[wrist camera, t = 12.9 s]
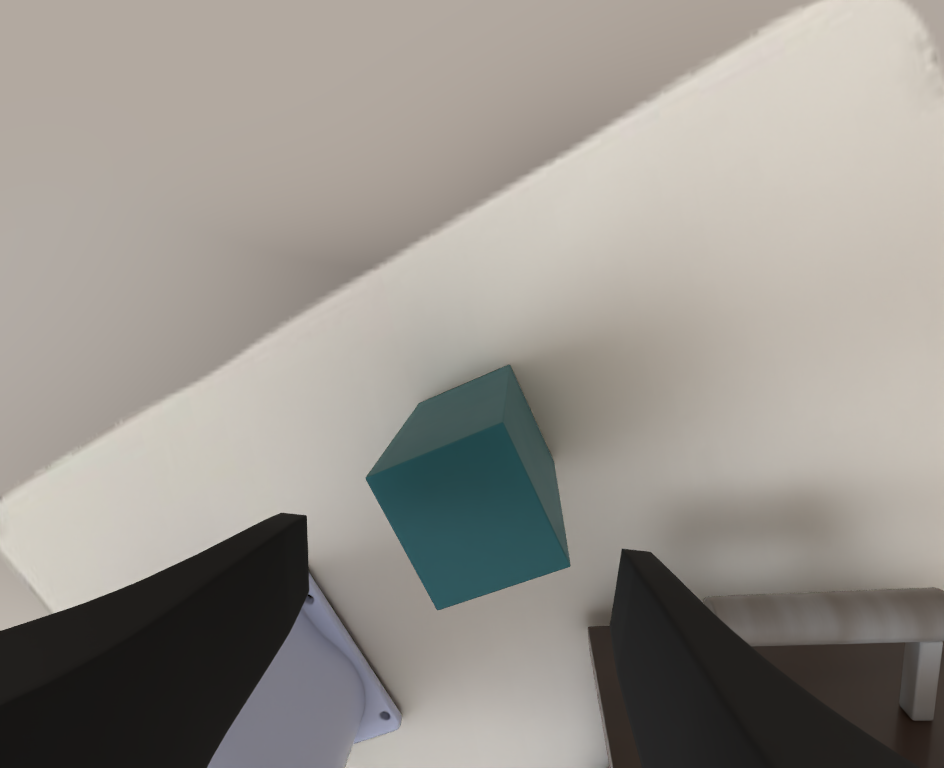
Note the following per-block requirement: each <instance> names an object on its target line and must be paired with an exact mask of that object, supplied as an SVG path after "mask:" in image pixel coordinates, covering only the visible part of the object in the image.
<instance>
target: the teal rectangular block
mask: <svg viewBox="0 0 944 768" xmlns="http://www.w3.org/2000/svg"><path fill="white" fill-rule="evenodd" d="M366 481H367V482H368V484H369V486H370V488H371V490H372V492H373V493H374V495H375V497H376V499H377V501H378V503H379V504H380V506H381V508H382V510H383V512H384V514H385V515H386V517H387V519H388V521H389V523H390V525H391V526H392V528H393V530H394V532H395V534H396V536H397V537H398V539H399V541H400V543H401V545H402V547H403V548H404V550H405V552H406V554H407V556H408V558H409V559H410V561H411V563H412V565H413V567H414V569H415V570H416V572H417V574H418V576H419V578H420V580H421V581H422V583H423V585H424V587H425V589H426V591H427V592H428V594H429V596H430V598H431V600H432V602H433V603H434V605H435V607H436V609H437V610H441V609H444V608H447V607H450V606H453V605H456V604H459V603H462V602H465V601H468V600H471V599H474V598H477V597H480V596H483V595H486V594H489V593H492V592H495V591H498V590H501V589H504V588H507V587H510V586H513V585H516V584H519V583H522V582H525V581H528V580H531V579H534V578H537V577H540V576H543V575H546V574H549V573H552V572H555V571H558V570H562V569H565V568H568V567H570V559H569V553H568V546H567V540H566V534H565V528H564V521H563V515H562V509H561V503H560V496H559V490H558V484H557V478H556V471H555V465H554V460H553V458H552V456H551V454H550V452H549V449H548V447H547V445H546V443H545V441H544V438H543V436H542V434H541V432H540V430H539V427H538V425H537V423H536V421H535V419H534V416H533V414H532V412H531V410H530V408H529V405H528V403H527V401H526V399H525V397H524V394H523V392H522V390H521V388H520V386H519V383H518V381H517V379H516V377H515V375H514V372H513V370H512V368H511V366H510V365H507V366H504V367H502V368H500V369H498V370H495V371H493V372H491V373H488V374H486V375H484V376H481V377H479V378H477V379H474V380H472V381H470V382H467V383H465V384H463V385H460V386H458V387H456V388H453V389H451V390H449V391H446V392H444V393H442V394H439V395H437V396H435V397H433V398H430V399H428V400H426V401H423V402H421V403H419V404H418V406H417V407H416V408H415V410H414V411H413V412H412V414H411V415H410V417H409V418H408V419H407V421H406V422H405V424H404V425H403V426H402V428H401V429H400V431H399V432H398V433H397V435H396V436H395V438H394V439H393V440H392V442H391V443H390V444H389V446H388V447H387V449H386V450H385V451H384V453H383V454H382V456H381V457H380V458H379V460H378V461H377V463H376V464H375V465H374V467H373V468H372V470H371V471H370V472H369V474H368V475H367V477H366Z"/></svg>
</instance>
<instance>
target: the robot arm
mask: <svg viewBox="0 0 944 768" xmlns="http://www.w3.org/2000/svg"><path fill="white" fill-rule="evenodd" d="M308 594H309V595H311V596H312V597H313V598H310V597H309V596H307V595H308ZM610 632H611V639H612V646H613V653H614V660H615V666H616V672H617V677H618V681H619V684H620V688H621V692H622V696H623V699H624V703H625V707H626V711H627V714H628V718H629V722H630V725H631V729H632V733H633V736H634V740H635V744H636V747H637V751H638V755H639V758H640V762H641V766H642V768H921V767H919V766H917V765H916V764H914V763H912V762H911V761H909V760H908V759H906V758H904V757H903V756H901V755H900V754H898V753H896V752H895V751H893V750H892V749H890V748H889V747H887V746H886V745H884V744H883V743H881V742H880V741H878V740H877V739H875V738H874V737H872V736H871V735H869V734H868V733H866V732H865V731H863V730H862V729H860V728H859V727H857V726H856V725H854V724H853V723H851V722H850V721H848V720H847V719H845V718H844V717H842V716H841V715H840V714H838V713H837V712H835V711H834V710H832V709H831V708H830V707H828V706H827V705H825V704H824V703H823V702H821V701H820V700H818V699H817V698H816V697H814V696H813V695H812V694H811V693H809V692H808V691H807V690H805V689H804V688H803V687H801V686H800V685H799V684H797V683H796V682H795V681H793V680H792V679H791V678H789V677H788V676H787V675H785V674H784V673H783V672H781V671H780V670H779V669H778V668H776V667H775V666H774V665H773V664H771V663H770V662H769V661H768V660H767V659H765V658H764V657H763V656H762V655H761V654H759V653H758V652H757V651H756V650H755V649H754V648H752V647H751V646H750V645H749V644H748V643H747V642H745V641H744V640H743V639H742V638H741V637H740V636H738V635H737V634H736V633H735V632H734V631H733V630H732V629H730V628H729V627H728V626H727V625H726V624H725V623H724V622H723V621H722V620H721V619H719V618H718V617H717V616H716V615H715V614H714V613H713V612H712V611H711V610H710V609H709V608H708V607H707V606H706V605H705V604H703V603H702V602H701V601H700V600H699V599H698V598H697V597H696V596H695V595H694V594H693V593H692V592H691V591H690V590H689V589H688V588H687V587H686V586H685V585H684V584H683V583H682V582H681V581H680V580H679V579H678V578H677V577H676V576H675V575H674V574H673V573H672V572H671V571H670V570H669V569H668V568H667V567H666V566H665V565H664V564H663V563H662V562H661V561H660V560H659V559H658V558H657V557H655V556H654V555H653V554H652V553H651V552H647V551H637V550H628V549H622V551H621V558H620V564H619V571H618V577H617V584H616V590H615V596H614V603H613V609H612V616H611V622H610ZM384 711H386V712H384ZM401 721H402V716H401V713H400V712H399V710H398V709H397V707H396V706H395V704H394V703H393V701H392V700H391V698H390V696H389V695H388V693H387V692H386V690H385V689H384V687H383V686H382V684H381V683H380V681H379V680H378V678H377V676H376V675H375V673H374V672H373V670H372V669H371V667H370V666H369V664H368V663H367V661H366V660H365V658H364V656H363V655H362V653H361V652H360V650H359V649H358V647H357V646H356V644H355V643H354V641H353V639H352V638H351V636H350V635H349V633H348V632H347V630H346V629H345V627H344V626H343V624H342V623H341V621H340V619H339V618H338V616H337V615H336V613H335V612H334V610H333V609H332V607H331V606H330V604H329V603H328V601H327V599H326V598H325V596H324V595H323V593H322V592H321V590H320V589H319V587H318V586H317V584H316V583H315V581H314V579H313V578H312V576H311V575H310V573H309V567H308V541H307V516H306V515H297V514H288V513H280V514H278V515H275V516H273V517H270V518H268V519H266V520H264V521H262V522H260V523H258V524H256V525H254V526H252V527H250V528H248V529H246V530H244V531H242V532H240V533H238V534H236V535H234V536H232V537H230V538H228V539H226V540H225V541H223V542H221V543H219V544H217V545H215V546H213V547H211V548H209V549H207V550H205V551H203V552H201V553H199V554H197V555H195V556H193V557H191V558H188V559H186V560H184V561H182V562H180V563H178V564H176V565H173V566H171V567H169V568H167V569H165V570H163V571H161V572H158V573H156V574H154V575H152V576H150V577H148V578H145V579H143V580H141V581H139V582H136V583H134V584H131V585H129V586H127V587H124V588H122V589H119V590H117V591H114V592H112V593H109V594H107V595H104V596H101V597H99V598H96V599H94V600H91V601H89V602H86V603H83V604H80V605H78V606H75V607H72V608H69V609H66V610H63V611H60V612H57V613H54V614H51V615H48V616H45V617H42V618H39V619H36V620H33V621H30V622H27V623H24V624H21V625H18V626H15V627H12V628H9V629H5V630H2V631H0V768H345V765H346V763H347V760H348V757H349V754H350V751H351V748H352V745H353V744H355V743H358V742H361V741H364V740H367V739H370V738H373V737H376V736H379V735H383V734H386V733H389V732H392V731H395V730H397V729H399V727H400V725H401Z"/></svg>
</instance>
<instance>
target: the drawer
mask: <svg viewBox="0 0 944 768" xmlns="http://www.w3.org/2000/svg"><path fill="white" fill-rule="evenodd" d="M704 604H705V605H706V606H707V607H708V608H709V609H710V610H711V611H712V612H713V613H714V614H715V615H716V616H717V617H718V618H719V619H721V620H722V621H723V622H724V623H725V624H726V625H727V626H728V627H729V628H730V629H732V630H733V631H734V632H735V633H736V634H737V635H738V636H740V637H741V638H742V639H743V640H744V641H745V642H747V643H748V644H749V645H750V646H751V647H752V648H754V649H755V650H756V651H757V652H758V653H759V654H761V655H762V656H763V657H764V658H765V659H767V660H768V661H769V662H770V663H771V664H773V665H774V666H775V667H776V668H778V669H779V670H780V671H781V672H783V673H784V674H785V675H787V676H788V677H789V678H791V679H792V680H793V681H795V682H796V683H797V684H799V685H800V686H801V687H803V688H804V689H805V690H807V691H808V692H809V693H811V694H812V695H813V696H814V697H816V698H817V699H818V700H820V701H821V702H823V703H824V704H825V705H827V706H828V707H830V708H831V709H832V710H834V711H835V712H837V713H838V714H840V715H841V716H842V717H844V718H845V719H847V720H848V721H850V722H851V723H853V724H854V725H856V726H857V727H859V728H860V729H862V730H863V731H865V732H866V733H868V734H869V735H871V736H872V737H874V738H875V739H877V740H878V741H880V742H881V743H883V744H884V745H886V746H887V747H889V748H890V749H892V750H893V751H895V752H896V753H898V754H900V755H901V756H903V757H904V758H906V759H908V760H909V761H911V762H912V763H914V764H916V765H917V766H919V767H921V768H944V591H943V590H941V589H938V588H933V587H932V588H907V589H882V590H857V591H832V592H807V593H781V594H756V595H731V596H708V597H706V598H705V599H704ZM588 638H589V650H590V656H591V661H592V667H593V673H594V679H595V684H596V690H597V696H598V701H599V707H600V713H601V719H602V724H603V730H604V736H605V742H606V747H607V753H608V759H609V765H610V768H642V766H641V762H640V758H639V755H638V751H637V747H636V744H635V740H634V736H633V733H632V729H631V725H630V722H629V718H628V714H627V711H626V707H625V703H624V699H623V696H622V692H621V688H620V684H619V681H618V677H617V672H616V666H615V660H614V653H613V646H612V639H611V632H610V626H595V627H588Z"/></svg>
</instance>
